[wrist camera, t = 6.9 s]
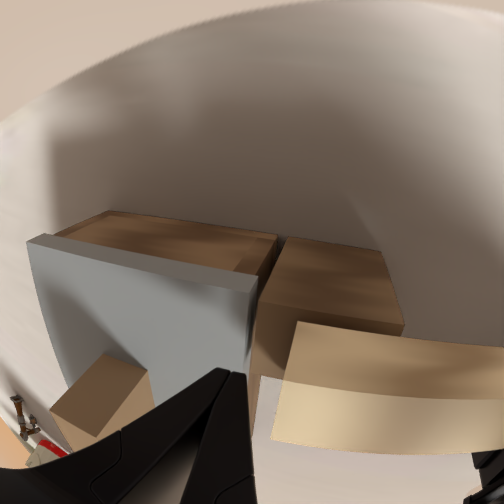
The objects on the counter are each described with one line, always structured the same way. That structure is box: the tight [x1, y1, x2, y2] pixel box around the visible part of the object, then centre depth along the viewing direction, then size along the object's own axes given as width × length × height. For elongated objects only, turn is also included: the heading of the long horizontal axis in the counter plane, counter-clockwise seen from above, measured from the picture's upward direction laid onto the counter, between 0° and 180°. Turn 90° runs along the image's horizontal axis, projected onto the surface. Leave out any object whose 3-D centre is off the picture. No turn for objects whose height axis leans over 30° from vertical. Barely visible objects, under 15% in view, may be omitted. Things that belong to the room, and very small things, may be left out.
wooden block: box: [270, 321, 504, 455], centre depth 7 cm, size 8×2×2 cm, turn 86°
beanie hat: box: [26, 440, 68, 468], centre depth 34 cm, size 14×14×15 cm
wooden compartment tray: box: [54, 211, 405, 438], centre depth 16 cm, size 15×16×6 cm
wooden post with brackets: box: [10, 395, 41, 441], centre depth 34 cm, size 2×8×4 cm, turn 5°
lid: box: [26, 233, 258, 452], centre depth 12 cm, size 10×16×5 cm, turn 176°
